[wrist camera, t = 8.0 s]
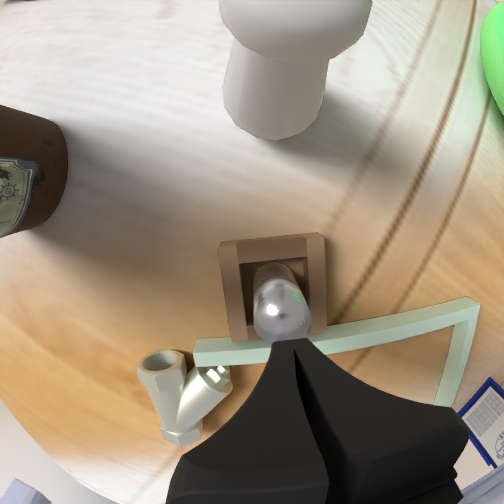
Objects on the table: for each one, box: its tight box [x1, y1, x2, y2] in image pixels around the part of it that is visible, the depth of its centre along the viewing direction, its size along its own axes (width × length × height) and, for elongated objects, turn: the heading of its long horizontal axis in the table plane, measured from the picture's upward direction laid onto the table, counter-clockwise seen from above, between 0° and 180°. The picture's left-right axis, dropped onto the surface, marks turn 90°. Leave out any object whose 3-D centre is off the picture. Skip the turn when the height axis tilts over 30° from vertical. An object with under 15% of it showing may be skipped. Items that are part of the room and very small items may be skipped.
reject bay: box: [193, 296, 480, 407], centre depth 20 cm, size 14×24×2 cm, turn 96°
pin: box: [253, 262, 311, 344], centre depth 16 cm, size 3×3×6 cm
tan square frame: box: [218, 232, 327, 342], centre depth 18 cm, size 6×6×2 cm
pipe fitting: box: [136, 349, 233, 446], centre depth 20 cm, size 8×4×7 cm
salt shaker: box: [219, 0, 372, 140], centre depth 10 cm, size 6×6×13 cm
